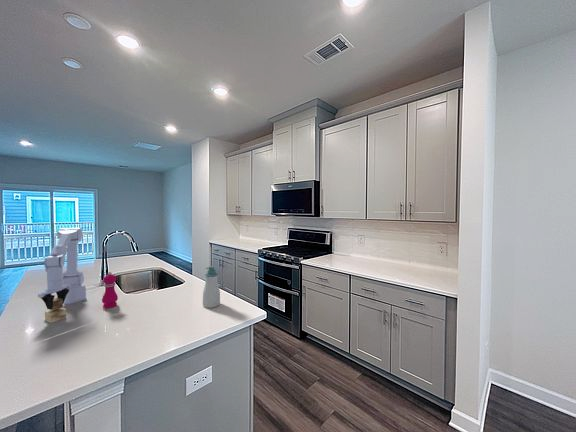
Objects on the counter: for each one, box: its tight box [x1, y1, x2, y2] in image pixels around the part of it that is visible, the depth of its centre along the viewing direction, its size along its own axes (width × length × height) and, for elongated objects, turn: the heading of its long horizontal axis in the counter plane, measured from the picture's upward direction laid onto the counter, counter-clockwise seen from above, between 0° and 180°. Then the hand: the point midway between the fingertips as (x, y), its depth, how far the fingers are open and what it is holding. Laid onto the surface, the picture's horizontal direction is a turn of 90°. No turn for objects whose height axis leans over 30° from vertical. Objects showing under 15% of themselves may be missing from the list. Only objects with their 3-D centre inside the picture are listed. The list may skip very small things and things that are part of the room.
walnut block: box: [49, 297, 64, 311], centre depth 123 cm, size 4×4×4 cm
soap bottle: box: [202, 265, 221, 309], centre depth 143 cm, size 10×10×23 cm
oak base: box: [44, 307, 67, 323], centre depth 123 cm, size 6×6×4 cm
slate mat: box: [43, 315, 68, 323], centre depth 127 cm, size 12×14×1 cm
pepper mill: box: [101, 271, 119, 309], centre depth 138 cm, size 7×7×20 cm
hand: (55, 306), depth 123 cm, fingers closed on walnut block, 5 cm apart
